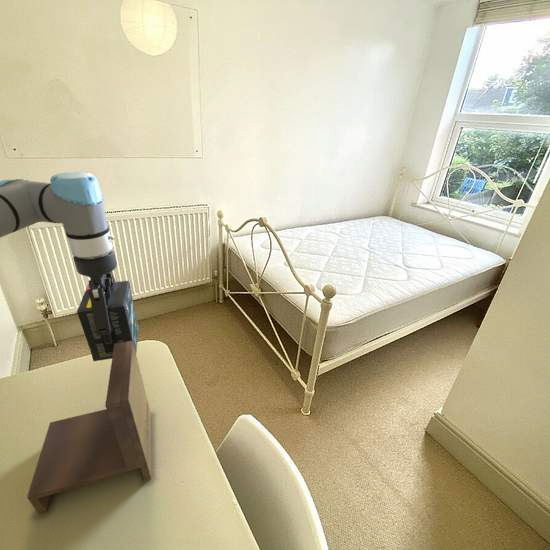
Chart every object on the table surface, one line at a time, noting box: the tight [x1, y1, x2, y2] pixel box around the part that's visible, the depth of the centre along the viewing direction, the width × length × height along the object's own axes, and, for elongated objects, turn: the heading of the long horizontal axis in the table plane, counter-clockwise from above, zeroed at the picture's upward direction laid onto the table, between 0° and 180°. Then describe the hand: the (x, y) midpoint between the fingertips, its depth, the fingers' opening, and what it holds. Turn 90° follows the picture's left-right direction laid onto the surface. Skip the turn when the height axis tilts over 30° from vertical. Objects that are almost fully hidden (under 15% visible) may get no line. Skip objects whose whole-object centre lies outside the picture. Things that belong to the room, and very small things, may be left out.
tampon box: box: [76, 280, 139, 362], centre depth 72 cm, size 11×9×15 cm
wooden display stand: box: [26, 341, 152, 515], centre depth 55 cm, size 18×14×23 cm
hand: (115, 334), depth 74 cm, fingers closed on tampon box, 11 cm apart
